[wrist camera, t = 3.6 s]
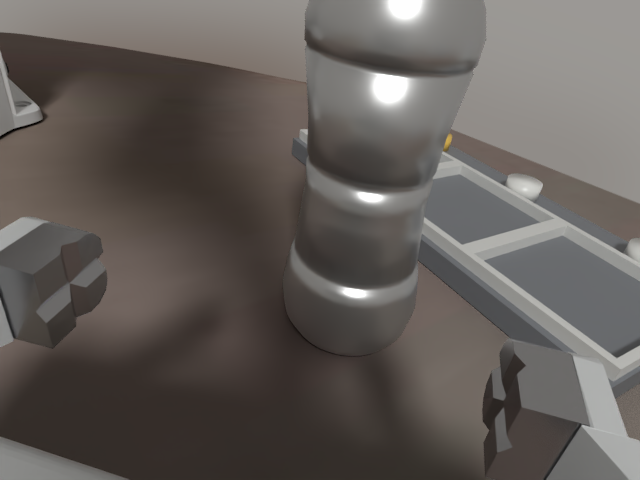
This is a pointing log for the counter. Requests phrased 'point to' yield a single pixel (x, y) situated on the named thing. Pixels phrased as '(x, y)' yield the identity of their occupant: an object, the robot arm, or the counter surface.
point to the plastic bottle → (373, 160)
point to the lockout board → (531, 263)
